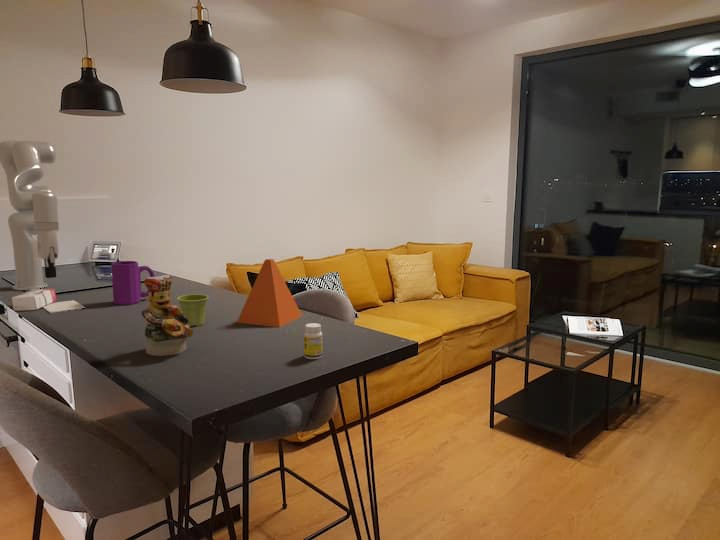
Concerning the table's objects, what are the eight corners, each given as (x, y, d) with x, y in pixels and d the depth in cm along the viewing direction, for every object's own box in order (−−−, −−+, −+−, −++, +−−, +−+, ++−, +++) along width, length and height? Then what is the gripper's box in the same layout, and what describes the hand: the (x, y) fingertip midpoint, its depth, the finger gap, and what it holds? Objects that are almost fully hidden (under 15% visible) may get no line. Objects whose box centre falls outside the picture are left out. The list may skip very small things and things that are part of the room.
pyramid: (236, 322, 169) (234, 261, 166) (261, 312, 184) (260, 255, 181) (279, 327, 164) (278, 264, 161) (302, 316, 178) (302, 257, 175)
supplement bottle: (304, 353, 138) (304, 322, 137) (322, 353, 138) (322, 322, 137) (303, 359, 133) (303, 327, 132) (322, 359, 134) (322, 327, 132)
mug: (109, 302, 196) (107, 262, 194) (151, 296, 206) (149, 258, 204) (118, 306, 189) (115, 265, 187) (161, 300, 200) (159, 261, 197)
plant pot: (215, 322, 169) (214, 295, 168) (197, 329, 160) (196, 301, 159) (190, 319, 172) (189, 293, 171) (171, 326, 163) (170, 299, 162)
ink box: (54, 287, 192) (34, 296, 181) (57, 300, 193) (37, 310, 182) (31, 288, 192) (9, 298, 181) (34, 301, 194) (12, 312, 182)
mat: (40, 305, 189) (39, 304, 189) (73, 301, 197) (73, 300, 197) (50, 313, 178) (50, 312, 178) (85, 308, 186) (85, 307, 186)
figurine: (144, 362, 130) (139, 282, 127) (142, 345, 144) (138, 273, 141) (195, 356, 135) (192, 279, 132) (189, 340, 149) (186, 270, 146)
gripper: (30, 226, 192) (34, 275, 195) (39, 228, 181) (44, 281, 184) (53, 225, 197) (57, 273, 200) (63, 227, 186) (67, 279, 189)
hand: (50, 277), depth 192 cm, fingers closed
